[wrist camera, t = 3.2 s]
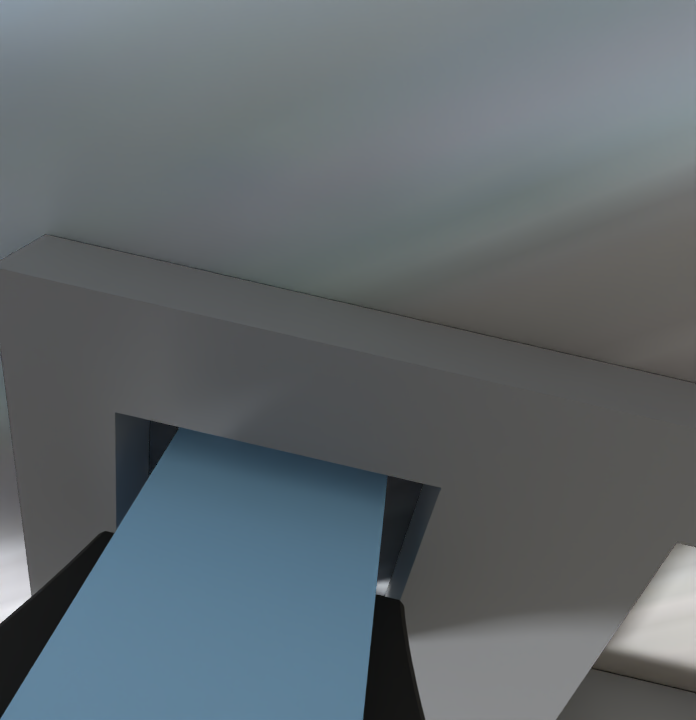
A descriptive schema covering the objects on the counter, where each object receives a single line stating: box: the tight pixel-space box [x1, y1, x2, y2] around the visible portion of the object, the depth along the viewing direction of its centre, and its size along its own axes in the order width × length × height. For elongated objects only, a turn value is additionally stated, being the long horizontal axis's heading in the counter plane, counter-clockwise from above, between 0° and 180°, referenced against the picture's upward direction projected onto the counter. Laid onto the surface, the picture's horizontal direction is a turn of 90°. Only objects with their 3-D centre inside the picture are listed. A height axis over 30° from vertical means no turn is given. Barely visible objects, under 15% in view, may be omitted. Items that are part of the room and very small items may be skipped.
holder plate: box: [0, 235, 696, 720], centre depth 12 cm, size 10×19×2 cm, turn 79°
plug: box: [0, 427, 388, 720], centre depth 10 cm, size 4×4×7 cm
